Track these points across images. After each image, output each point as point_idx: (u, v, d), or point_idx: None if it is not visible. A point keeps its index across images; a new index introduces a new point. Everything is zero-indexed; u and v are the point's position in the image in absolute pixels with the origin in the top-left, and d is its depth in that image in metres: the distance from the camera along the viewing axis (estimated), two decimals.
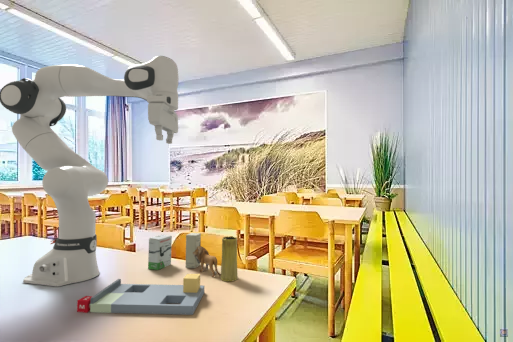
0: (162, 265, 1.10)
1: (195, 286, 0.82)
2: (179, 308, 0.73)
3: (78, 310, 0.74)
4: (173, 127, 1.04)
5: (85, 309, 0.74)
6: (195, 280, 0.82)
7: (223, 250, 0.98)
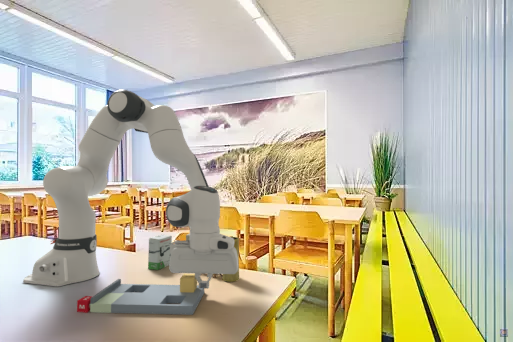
0: (162, 265, 1.10)
1: (192, 286, 0.82)
2: (179, 308, 0.73)
3: (78, 310, 0.74)
4: None
5: (85, 309, 0.74)
6: (192, 280, 0.82)
7: None
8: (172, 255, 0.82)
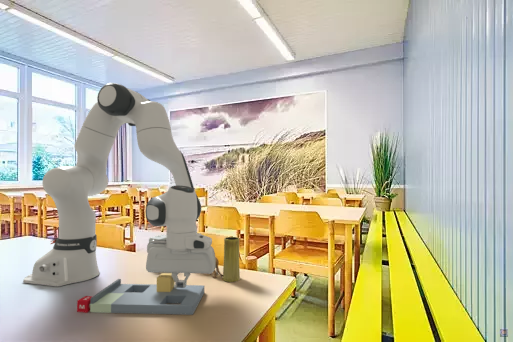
0: None
1: (168, 285, 0.82)
2: (179, 308, 0.73)
3: (78, 310, 0.74)
4: None
5: (85, 309, 0.74)
6: (168, 279, 0.82)
7: (225, 250, 0.97)
8: (149, 254, 0.82)
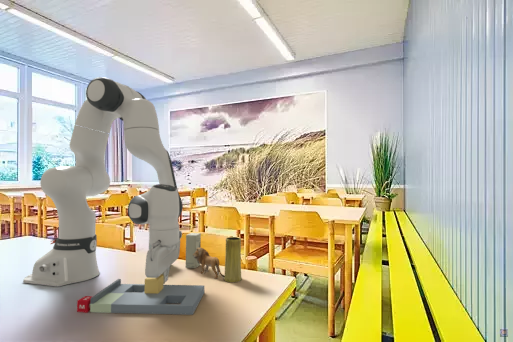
0: None
1: (156, 287, 0.81)
2: (179, 308, 0.73)
3: (78, 310, 0.74)
4: None
5: (85, 309, 0.74)
6: (156, 281, 0.81)
7: (227, 251, 0.97)
8: (159, 258, 0.78)
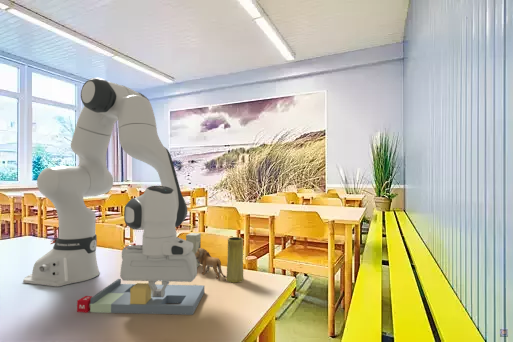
0: None
1: (143, 297, 0.74)
2: (179, 308, 0.73)
3: (78, 310, 0.74)
4: None
5: (85, 309, 0.74)
6: (143, 290, 0.74)
7: (229, 251, 0.97)
8: (123, 261, 0.76)
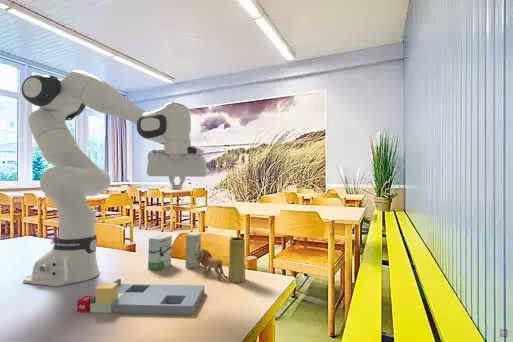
0: (162, 265, 1.10)
1: (109, 297, 0.74)
2: (179, 308, 0.73)
3: (78, 310, 0.74)
4: None
5: (85, 309, 0.74)
6: (109, 290, 0.74)
7: (231, 251, 0.96)
8: (149, 161, 0.96)
